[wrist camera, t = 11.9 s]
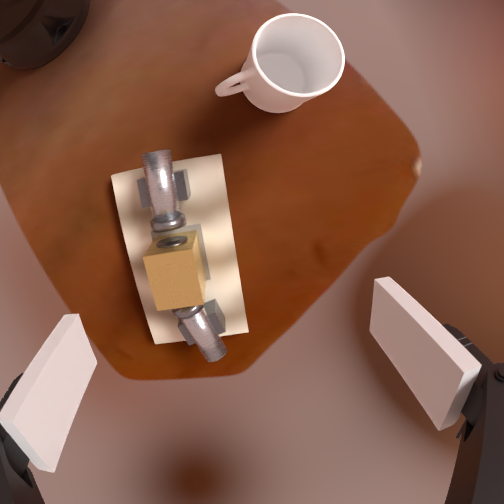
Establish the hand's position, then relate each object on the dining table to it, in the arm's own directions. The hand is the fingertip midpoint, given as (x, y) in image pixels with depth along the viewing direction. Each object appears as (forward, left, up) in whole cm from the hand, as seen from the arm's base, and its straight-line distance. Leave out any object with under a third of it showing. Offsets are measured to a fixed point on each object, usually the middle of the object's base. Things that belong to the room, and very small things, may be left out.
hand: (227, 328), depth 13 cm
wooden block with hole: (+5, -6, -25) cm, 26 cm away
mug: (-14, +7, -27) cm, 31 cm away
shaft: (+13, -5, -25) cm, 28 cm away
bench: (+5, -6, -27) cm, 28 cm away
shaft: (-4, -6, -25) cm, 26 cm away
